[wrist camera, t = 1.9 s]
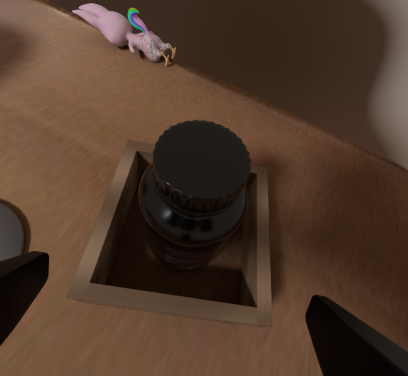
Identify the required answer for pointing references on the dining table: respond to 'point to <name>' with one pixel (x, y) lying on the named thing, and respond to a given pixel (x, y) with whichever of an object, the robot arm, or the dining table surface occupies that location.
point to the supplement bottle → (194, 193)
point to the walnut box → (163, 303)
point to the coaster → (10, 234)
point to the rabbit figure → (125, 31)
